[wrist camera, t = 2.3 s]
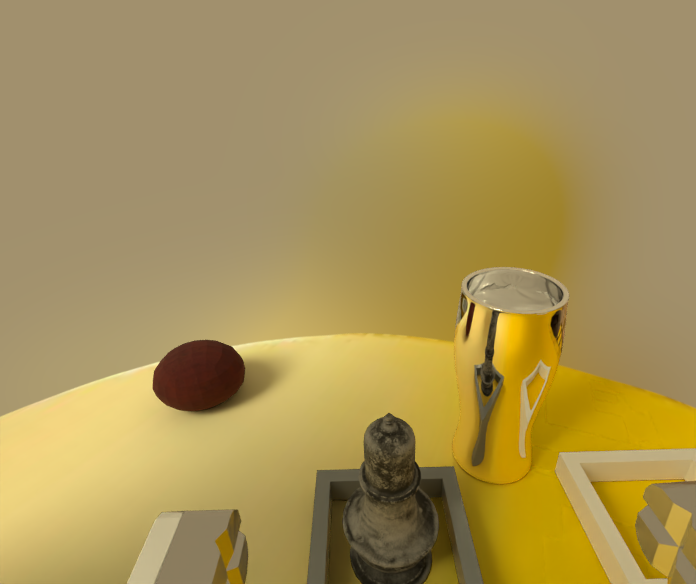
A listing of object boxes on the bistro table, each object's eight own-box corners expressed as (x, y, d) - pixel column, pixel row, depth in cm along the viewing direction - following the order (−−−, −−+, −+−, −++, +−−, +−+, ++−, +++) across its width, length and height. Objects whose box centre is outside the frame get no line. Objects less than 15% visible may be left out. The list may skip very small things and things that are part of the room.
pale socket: (628, 619, 24) (638, 598, 23) (554, 471, 33) (559, 452, 32) (813, 616, 24) (830, 595, 23) (688, 467, 33) (697, 448, 32)
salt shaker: (328, 574, 27) (311, 433, 22) (369, 499, 32) (363, 367, 26) (418, 622, 25) (424, 476, 19) (448, 533, 29) (460, 394, 24)
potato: (170, 379, 46) (155, 331, 43) (249, 368, 47) (240, 320, 44) (154, 430, 39) (136, 377, 36) (247, 416, 40) (236, 363, 38)
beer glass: (540, 499, 31) (581, 320, 24) (441, 478, 33) (453, 307, 26) (534, 429, 37) (566, 269, 30) (450, 415, 39) (462, 262, 32)
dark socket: (306, 645, 24) (303, 625, 23) (319, 488, 33) (317, 470, 32) (489, 642, 24) (493, 622, 23) (452, 485, 32) (453, 466, 32)
